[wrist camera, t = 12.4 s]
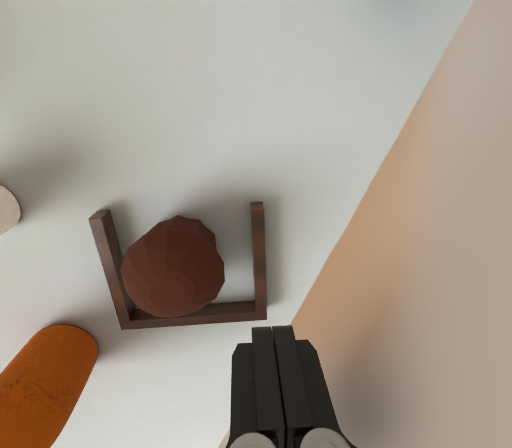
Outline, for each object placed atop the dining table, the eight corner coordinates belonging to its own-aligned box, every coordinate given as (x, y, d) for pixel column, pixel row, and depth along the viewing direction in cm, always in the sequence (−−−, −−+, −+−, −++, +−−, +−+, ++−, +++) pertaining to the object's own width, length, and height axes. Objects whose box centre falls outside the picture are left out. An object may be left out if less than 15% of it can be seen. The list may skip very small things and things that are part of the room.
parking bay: (97, 210, 37) (88, 218, 34) (262, 201, 37) (264, 209, 35) (127, 317, 44) (121, 329, 41) (265, 308, 44) (266, 319, 42)
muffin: (185, 188, 36) (167, 222, 27) (244, 248, 40) (246, 295, 31) (119, 245, 39) (84, 293, 30) (181, 295, 43) (166, 352, 34)
